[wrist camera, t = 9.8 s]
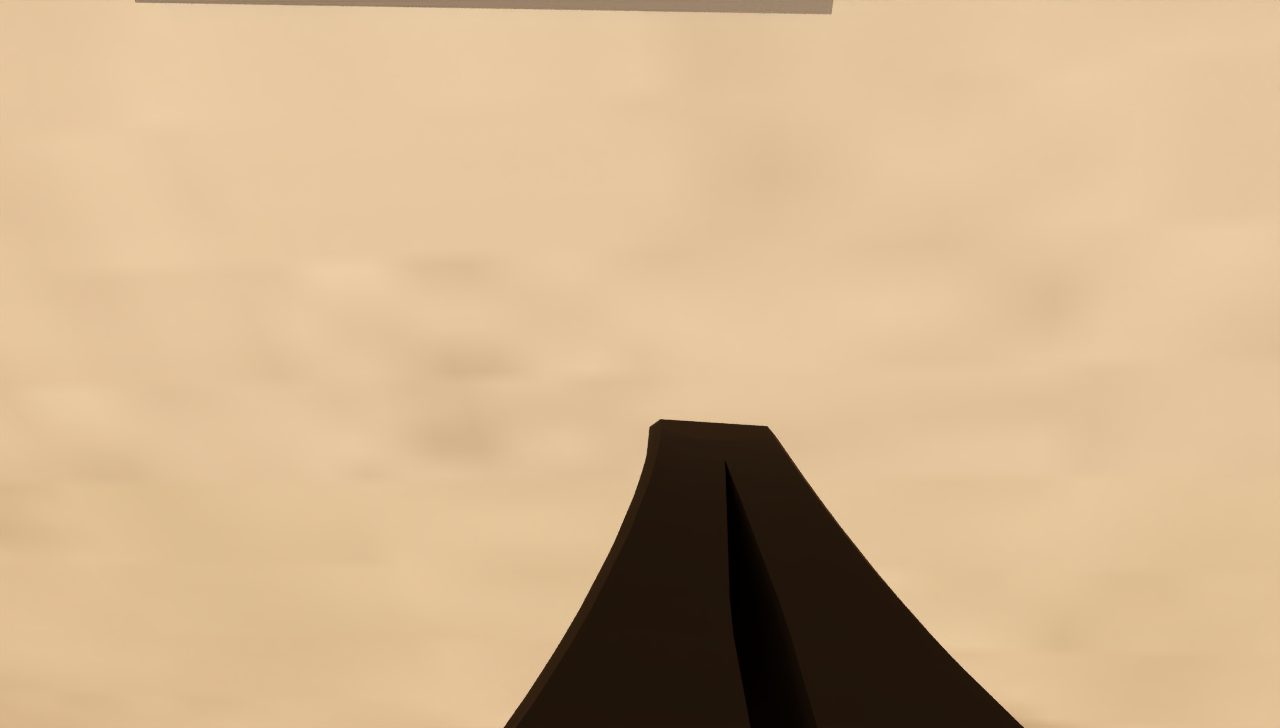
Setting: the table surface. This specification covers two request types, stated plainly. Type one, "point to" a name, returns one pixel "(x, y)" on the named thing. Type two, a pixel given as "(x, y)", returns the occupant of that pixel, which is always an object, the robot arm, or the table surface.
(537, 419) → the table surface
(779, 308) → the table surface
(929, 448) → the table surface
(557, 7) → the dock
